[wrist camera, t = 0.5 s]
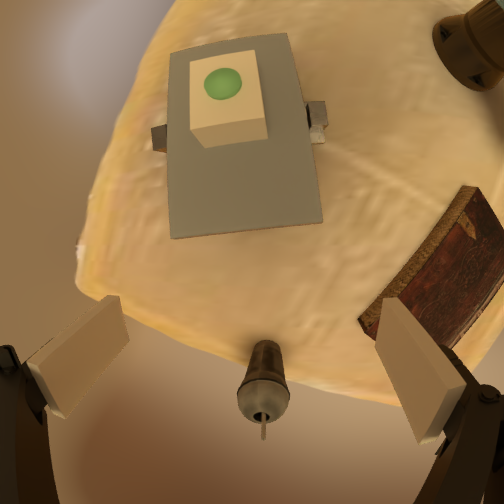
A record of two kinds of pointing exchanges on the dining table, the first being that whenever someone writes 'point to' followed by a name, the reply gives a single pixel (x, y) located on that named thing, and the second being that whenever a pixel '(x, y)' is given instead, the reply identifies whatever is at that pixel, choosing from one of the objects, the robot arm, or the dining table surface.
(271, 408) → the beverage cup
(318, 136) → the pivot stand
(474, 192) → the hardback book
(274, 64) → the instrument plate
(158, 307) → the dining table surface
